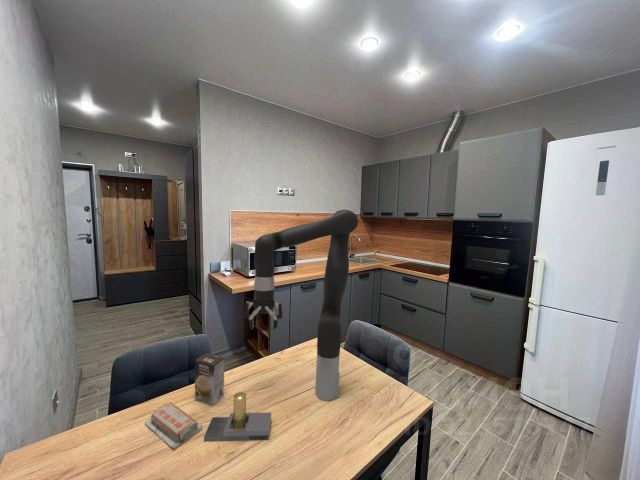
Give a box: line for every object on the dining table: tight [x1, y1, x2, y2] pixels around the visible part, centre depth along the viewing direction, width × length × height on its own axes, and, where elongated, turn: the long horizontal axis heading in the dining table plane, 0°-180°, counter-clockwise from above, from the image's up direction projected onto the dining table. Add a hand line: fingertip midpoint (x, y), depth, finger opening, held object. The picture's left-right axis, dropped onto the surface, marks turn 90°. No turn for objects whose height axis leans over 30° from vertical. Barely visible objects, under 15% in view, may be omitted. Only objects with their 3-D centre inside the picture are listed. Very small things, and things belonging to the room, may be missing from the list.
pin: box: [232, 391, 247, 429], centre depth 86 cm, size 4×4×12 cm
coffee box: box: [194, 352, 225, 407], centre depth 101 cm, size 9×6×16 cm
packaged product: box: [143, 401, 203, 451], centre depth 87 cm, size 18×5×10 cm
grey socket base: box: [203, 412, 272, 442], centre depth 87 cm, size 20×8×3 cm, turn 94°
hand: (263, 328), depth 101 cm, fingers open, 8 cm apart
